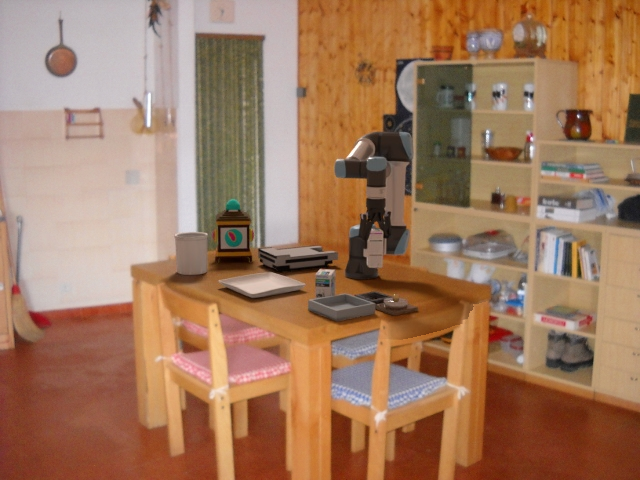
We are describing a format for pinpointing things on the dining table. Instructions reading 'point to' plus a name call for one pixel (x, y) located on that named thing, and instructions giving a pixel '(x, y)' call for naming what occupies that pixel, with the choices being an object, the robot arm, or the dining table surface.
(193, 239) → the utensil holder
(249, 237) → the decorative lantern
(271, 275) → the square plate
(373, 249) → the syrup box
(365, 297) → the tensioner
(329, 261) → the game console
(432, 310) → the dining table surface
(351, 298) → the tray
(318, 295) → the light bulb box
